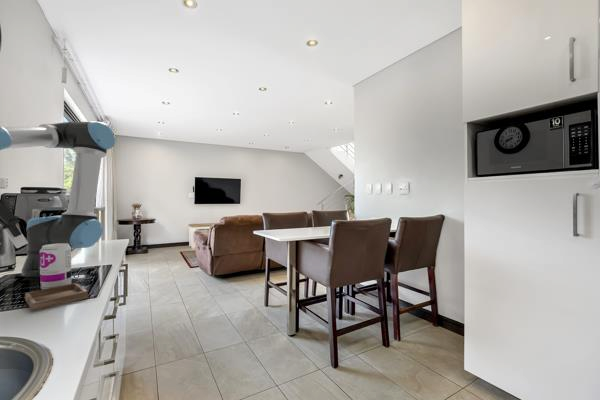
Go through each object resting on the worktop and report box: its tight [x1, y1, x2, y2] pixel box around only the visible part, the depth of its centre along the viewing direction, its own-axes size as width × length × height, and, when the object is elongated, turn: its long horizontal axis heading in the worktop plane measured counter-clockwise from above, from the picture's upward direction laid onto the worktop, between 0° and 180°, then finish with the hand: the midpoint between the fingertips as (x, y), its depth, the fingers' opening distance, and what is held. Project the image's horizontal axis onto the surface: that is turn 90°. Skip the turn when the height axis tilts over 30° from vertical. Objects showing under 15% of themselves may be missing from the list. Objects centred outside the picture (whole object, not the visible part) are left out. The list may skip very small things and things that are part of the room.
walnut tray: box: [24, 282, 89, 312], centre depth 85 cm, size 13×13×2 cm
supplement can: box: [39, 243, 72, 290], centre depth 96 cm, size 8×8×15 cm
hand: (8, 246), depth 83 cm, fingers open, 13 cm apart
